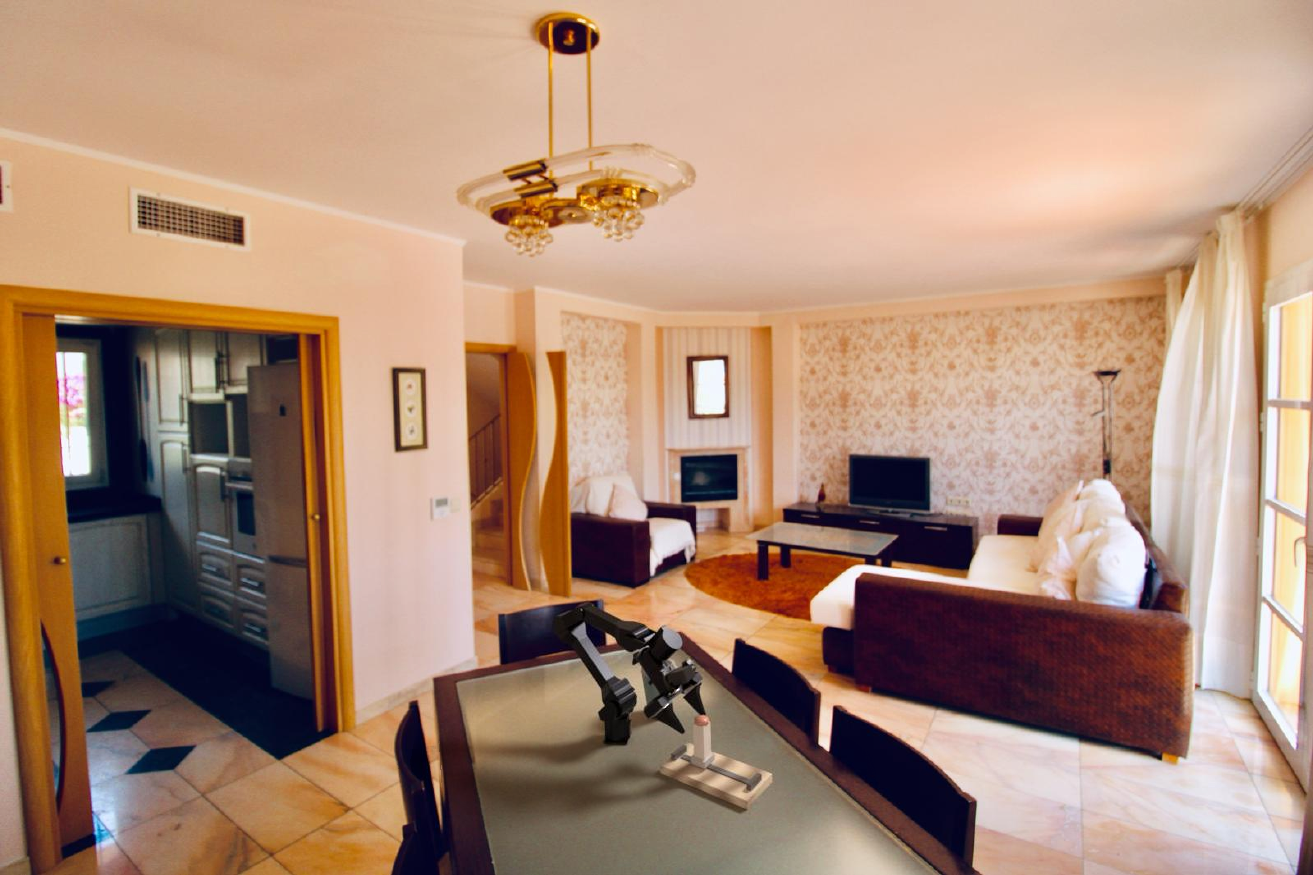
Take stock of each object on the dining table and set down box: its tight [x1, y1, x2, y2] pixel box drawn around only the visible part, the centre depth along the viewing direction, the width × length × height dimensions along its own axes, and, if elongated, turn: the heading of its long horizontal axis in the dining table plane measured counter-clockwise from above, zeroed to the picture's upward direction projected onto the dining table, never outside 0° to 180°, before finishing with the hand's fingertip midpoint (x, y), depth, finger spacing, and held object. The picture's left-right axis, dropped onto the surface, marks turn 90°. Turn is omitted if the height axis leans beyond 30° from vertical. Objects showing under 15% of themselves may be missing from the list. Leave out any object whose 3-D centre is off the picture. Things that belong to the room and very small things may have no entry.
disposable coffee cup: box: [640, 658, 678, 718], centre depth 179 cm, size 11×11×15 cm
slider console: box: [659, 742, 773, 810], centre depth 148 cm, size 24×12×3 cm, turn 53°
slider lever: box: [691, 714, 715, 769], centre depth 150 cm, size 4×4×11 cm
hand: (694, 724), depth 151 cm, fingers open, 9 cm apart
